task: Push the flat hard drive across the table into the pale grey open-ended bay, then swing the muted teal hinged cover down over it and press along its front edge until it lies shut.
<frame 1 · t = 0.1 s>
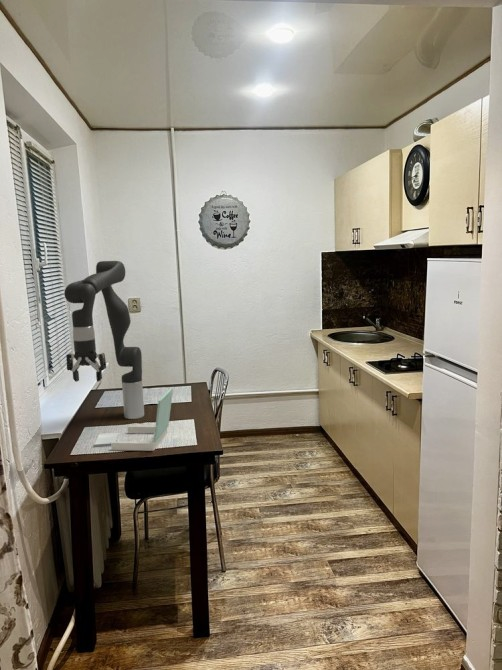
hand: (87, 381, 181), 29 cm above the table, tool pointing down, fingers open, 8 cm apart
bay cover: (163, 414, 195), point 12 cm above the table, hinge at 100.0°
drive bay: (140, 441, 198), on the table
hard drive: (106, 442, 200), on the table
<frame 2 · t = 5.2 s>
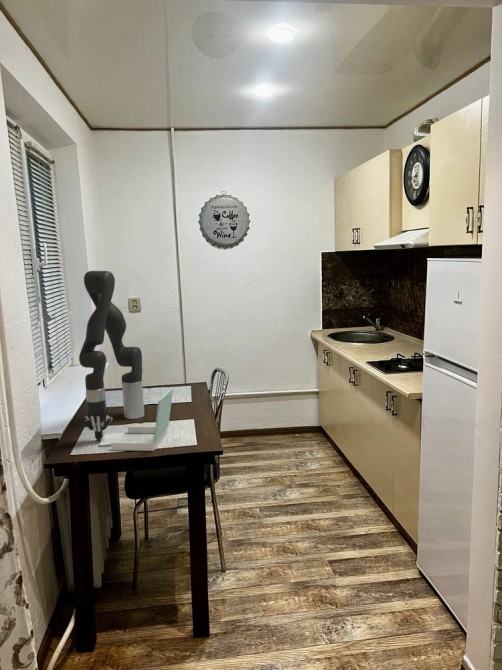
hand: (99, 439, 200), 1 cm above the table, tool pointing down, fingers closed
hard drive: (112, 442, 200), on the table
everything else where it was.
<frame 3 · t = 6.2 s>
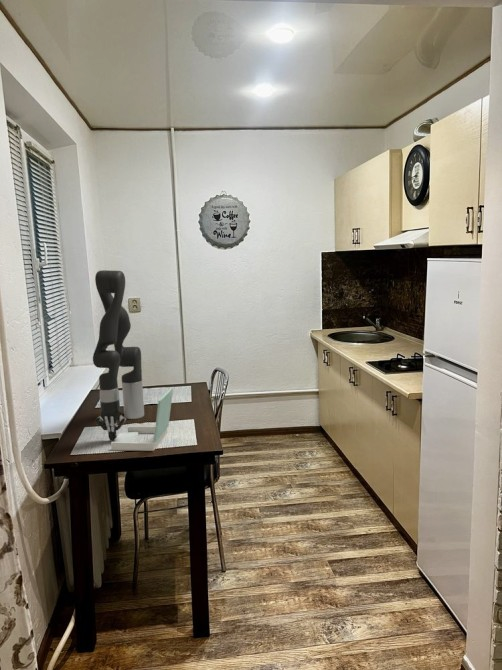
hand: (112, 439, 199), 1 cm above the table, tool pointing down, fingers closed
hard drive: (126, 441, 200), on the table, touching gripper
everything else where it was.
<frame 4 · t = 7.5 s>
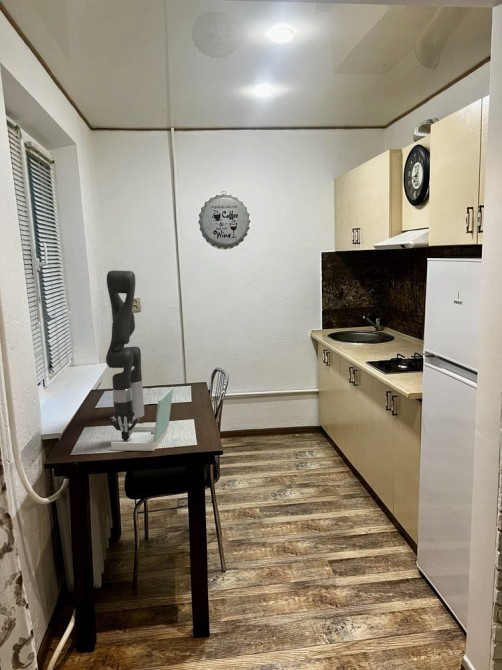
hand: (125, 439, 198), 1 cm above the table, tool pointing down, fingers closed
hard drive: (139, 441, 200), on the table, touching gripper
everything else where it was.
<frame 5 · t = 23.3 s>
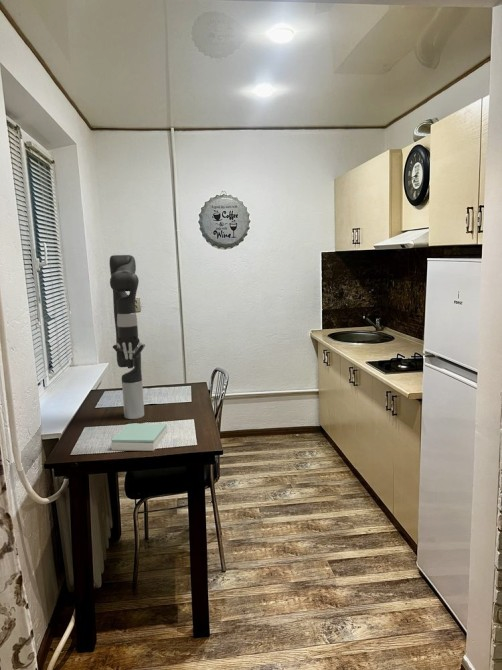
hand: (130, 368, 191), 31 cm above the table, tool pointing down, fingers closed
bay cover: (140, 432, 197), point 4 cm above the table, hinge at -0.5°
hard drive: (141, 441, 199), on the table
at the end: hard drive inside the target area (1.4 cm from its centre), on the table; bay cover at +0° (first picture: +100°) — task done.
